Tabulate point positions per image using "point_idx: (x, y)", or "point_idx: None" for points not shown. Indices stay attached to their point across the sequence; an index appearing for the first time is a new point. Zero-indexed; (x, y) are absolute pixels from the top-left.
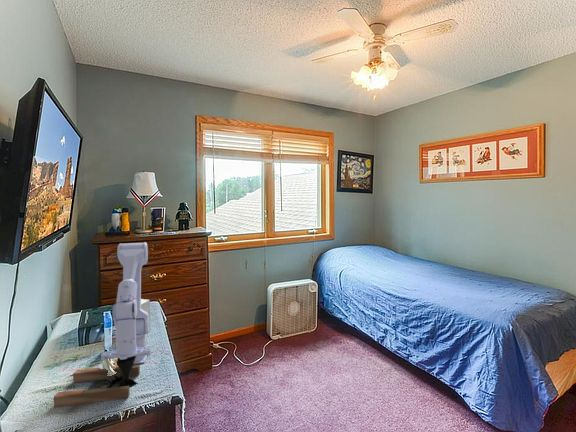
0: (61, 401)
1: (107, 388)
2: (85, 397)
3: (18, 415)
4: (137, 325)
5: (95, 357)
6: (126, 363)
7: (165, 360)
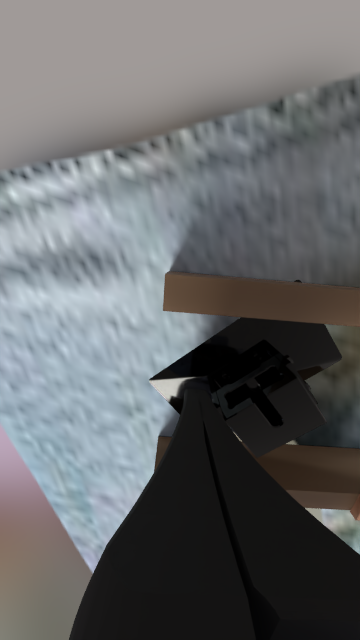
0: None
1: (306, 319)
2: None
3: None
4: None
5: None
6: (208, 570)
7: (69, 505)
